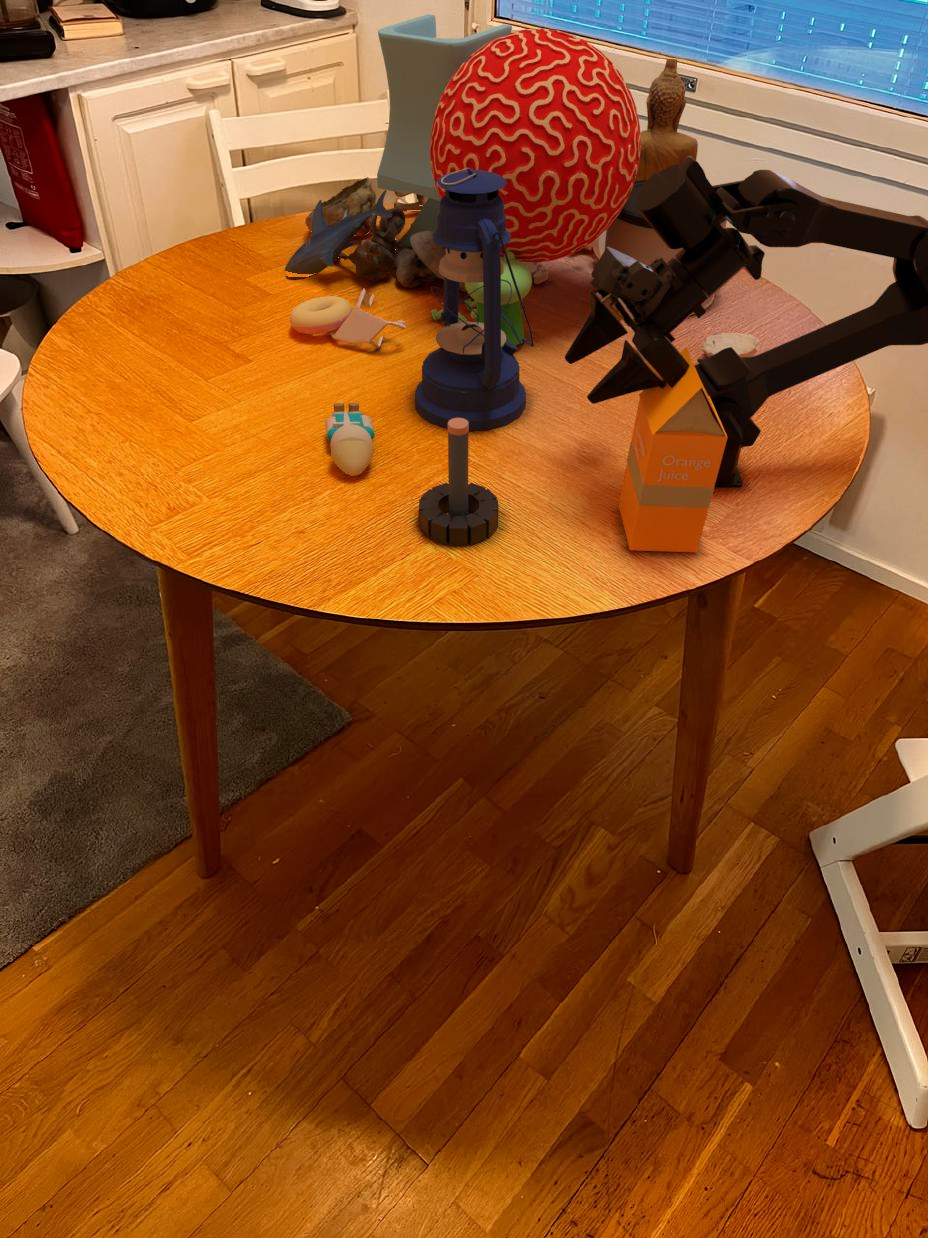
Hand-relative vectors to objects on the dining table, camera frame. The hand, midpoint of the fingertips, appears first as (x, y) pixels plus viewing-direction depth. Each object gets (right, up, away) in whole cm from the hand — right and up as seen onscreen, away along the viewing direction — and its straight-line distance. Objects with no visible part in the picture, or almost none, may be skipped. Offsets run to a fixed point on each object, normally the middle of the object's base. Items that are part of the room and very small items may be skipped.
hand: (577, 380), depth 106 cm
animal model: (-23, +49, +70) cm, 88 cm away
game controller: (+2, +32, +57) cm, 65 cm away
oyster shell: (-27, +41, +62) cm, 79 cm away
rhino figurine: (-18, +34, +55) cm, 67 cm away
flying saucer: (-16, +30, +51) cm, 61 cm away
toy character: (-10, +17, +41) cm, 45 cm away
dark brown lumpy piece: (-24, +42, +52) cm, 71 cm away
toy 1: (-34, +39, +53) cm, 74 cm away
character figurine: (+13, +38, +56) cm, 69 cm away
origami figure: (-26, +18, +39) cm, 50 cm away
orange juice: (+9, -16, +4) cm, 19 cm away
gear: (-13, -15, +5) cm, 21 cm away
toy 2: (-28, +1, +21) cm, 35 cm away
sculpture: (+21, +42, +68) cm, 83 cm away
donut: (-39, +20, +42) cm, 60 cm away
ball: (-5, +37, +47) cm, 60 cm away
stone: (+28, +14, +37) cm, 49 cm away
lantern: (-12, +3, +25) cm, 28 cm away
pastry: (-35, +49, +66) cm, 90 cm away
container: (+19, +27, +51) cm, 61 cm away
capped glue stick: (-13, -15, +5) cm, 21 cm away
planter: (-16, +36, +61) cm, 73 cm away
